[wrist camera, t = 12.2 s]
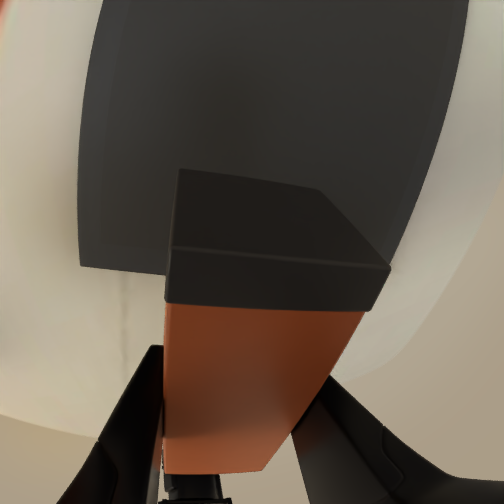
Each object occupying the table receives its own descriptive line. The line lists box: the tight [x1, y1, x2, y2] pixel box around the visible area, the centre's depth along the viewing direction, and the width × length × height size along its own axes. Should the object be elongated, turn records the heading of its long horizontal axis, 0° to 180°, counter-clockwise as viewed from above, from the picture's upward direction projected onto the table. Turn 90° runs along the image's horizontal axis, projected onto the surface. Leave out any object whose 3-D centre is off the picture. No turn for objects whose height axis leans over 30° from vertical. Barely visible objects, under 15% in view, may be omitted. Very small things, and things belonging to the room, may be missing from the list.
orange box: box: [163, 168, 391, 474], centre depth 8 cm, size 9×4×4 cm, turn 168°
